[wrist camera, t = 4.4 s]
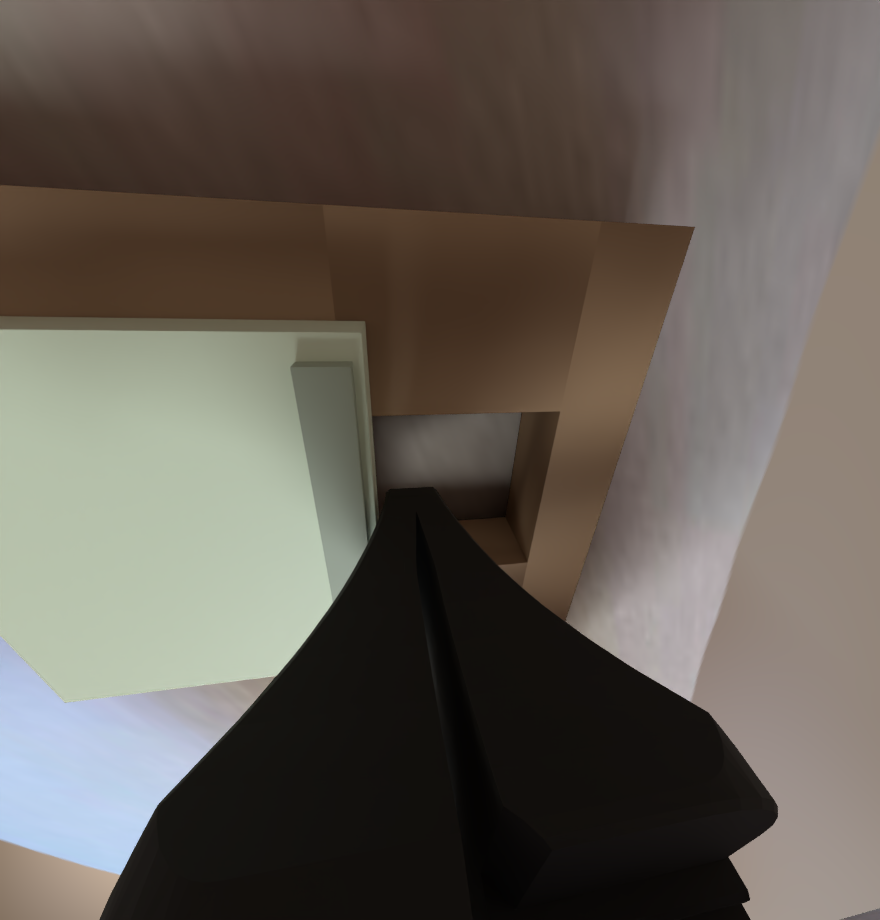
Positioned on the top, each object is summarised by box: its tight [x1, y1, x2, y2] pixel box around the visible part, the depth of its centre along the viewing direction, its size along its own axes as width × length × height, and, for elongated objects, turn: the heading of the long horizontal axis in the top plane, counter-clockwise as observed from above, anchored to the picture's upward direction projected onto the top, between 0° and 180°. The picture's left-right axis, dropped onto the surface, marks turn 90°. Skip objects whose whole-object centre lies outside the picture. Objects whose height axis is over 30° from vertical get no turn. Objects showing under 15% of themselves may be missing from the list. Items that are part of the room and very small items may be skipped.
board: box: [0, 185, 695, 621], centre depth 11 cm, size 14×18×2 cm
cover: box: [0, 316, 379, 703], centre depth 8 cm, size 10×9×2 cm
